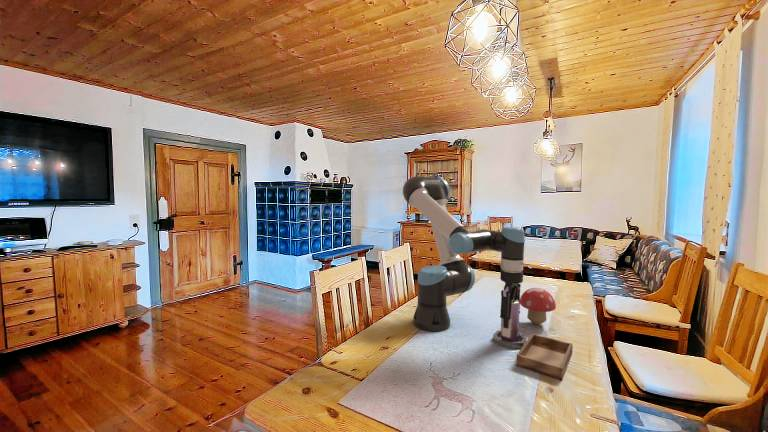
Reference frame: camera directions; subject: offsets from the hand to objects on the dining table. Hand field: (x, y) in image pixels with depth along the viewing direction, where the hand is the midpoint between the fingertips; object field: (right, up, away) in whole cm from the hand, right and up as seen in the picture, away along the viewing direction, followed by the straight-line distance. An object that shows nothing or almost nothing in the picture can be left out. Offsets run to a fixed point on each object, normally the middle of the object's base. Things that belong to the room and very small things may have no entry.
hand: (509, 333), depth 115 cm
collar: (0, -3, 0) cm, 3 cm away
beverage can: (0, -3, 0) cm, 3 cm away
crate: (+7, -4, -13) cm, 15 cm away
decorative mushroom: (+17, -2, +16) cm, 24 cm away
